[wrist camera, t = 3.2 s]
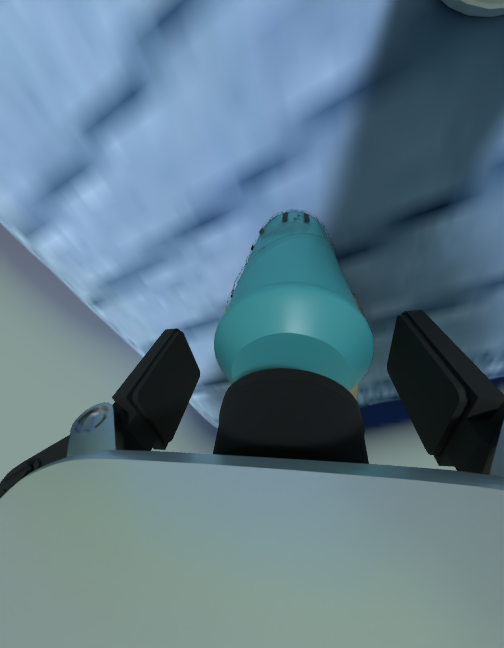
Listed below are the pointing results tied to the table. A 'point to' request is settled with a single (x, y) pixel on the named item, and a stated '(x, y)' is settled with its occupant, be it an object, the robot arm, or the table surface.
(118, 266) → the table surface
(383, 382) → the table surface
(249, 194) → the table surface
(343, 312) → the beverage bottle
